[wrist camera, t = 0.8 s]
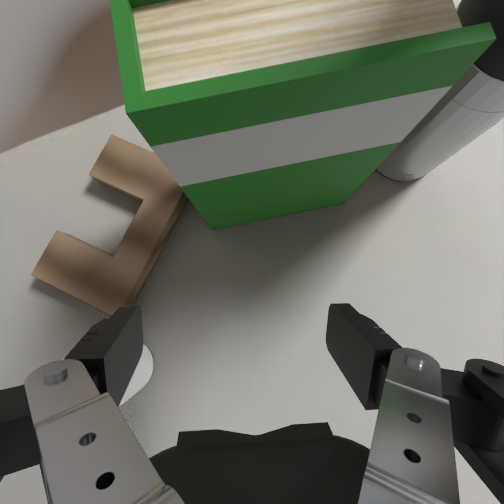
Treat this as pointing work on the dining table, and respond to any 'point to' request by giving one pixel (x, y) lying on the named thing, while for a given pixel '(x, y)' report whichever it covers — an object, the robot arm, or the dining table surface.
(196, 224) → the dining table surface
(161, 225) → the notched board
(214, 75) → the hardback book
